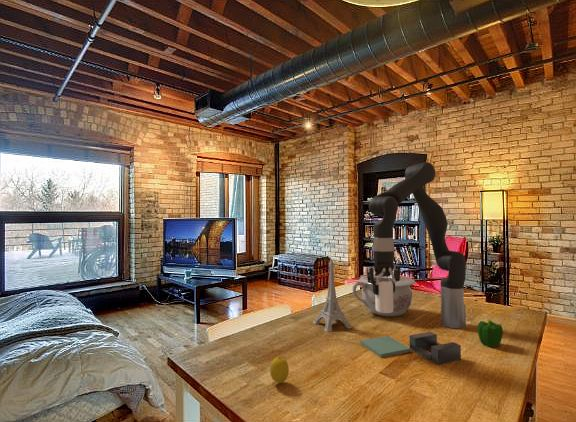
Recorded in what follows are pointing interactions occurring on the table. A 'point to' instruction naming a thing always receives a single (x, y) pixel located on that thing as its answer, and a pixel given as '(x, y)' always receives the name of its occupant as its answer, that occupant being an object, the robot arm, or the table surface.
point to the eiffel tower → (331, 305)
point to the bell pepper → (490, 333)
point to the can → (384, 296)
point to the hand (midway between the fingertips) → (384, 293)
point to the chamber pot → (400, 295)
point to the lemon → (279, 369)
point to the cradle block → (435, 348)
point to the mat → (385, 346)
